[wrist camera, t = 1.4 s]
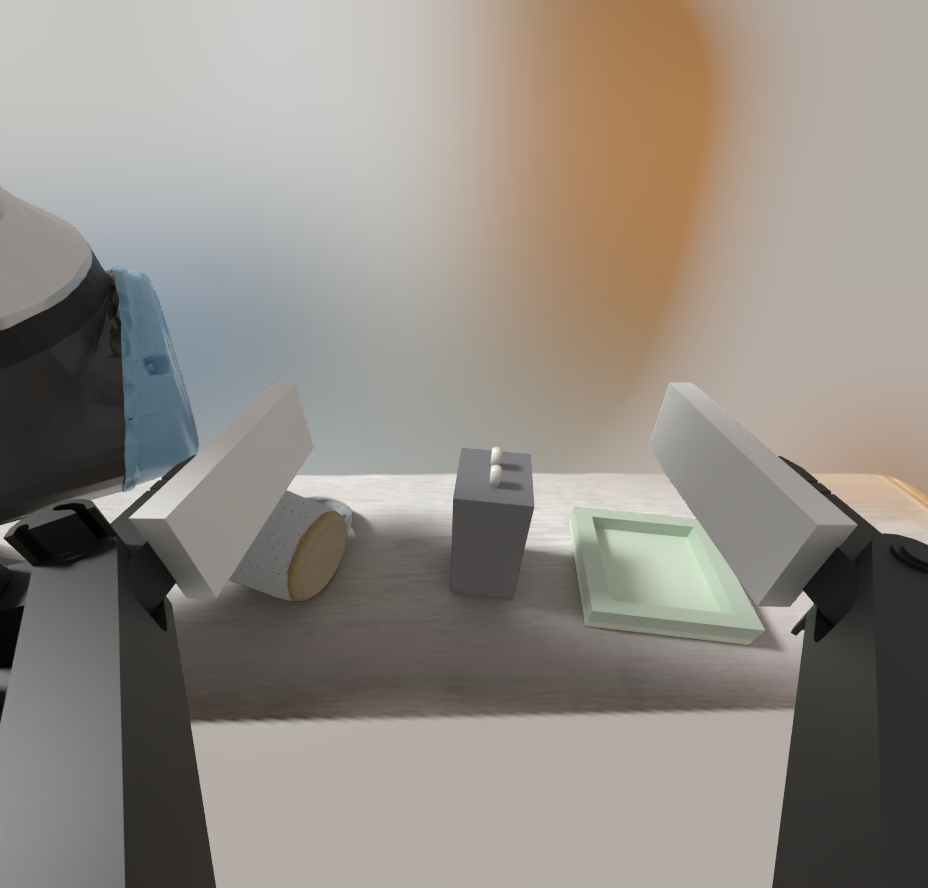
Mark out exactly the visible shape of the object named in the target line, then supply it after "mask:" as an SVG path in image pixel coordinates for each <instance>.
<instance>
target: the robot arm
mask: <svg viewBox="0 0 928 888" xmlns="http://www.w3.org/2000/svg"><path fill="white" fill-rule="evenodd" d="M198 446H199V441H198V435H197V430H196V425H195V421H194V417H193V412H192V409H191V405H190V401H189V397H188V394H187V390H186V386H185V383H184V379H183V376H182V372H181V369H180V365H179V362H178V359H177V355H176V352H175V349H174V346H173V342H172V339H171V336H170V333H169V329H168V326H167V323H166V320H165V317H164V314H163V311H162V308H161V305H160V302H159V300H158V297H157V295H156V292H155V290H154V289H153V287H152V284H151V281H150V279H149V278H148V277H147V276H146V275H145V274H143V273H141V272H138V271H131V270H126V269H124V268H119V267H112V269H111V270H109V271H105V270H104V269H103V268H102V266H101V265H100V263H99V261H98V260H97V258H96V256H95V255H94V253H93V251H92V250H91V248H90V246H89V244H88V243H87V242H86V240H85V239H84V237H82V235H81V234H80V232H79V231H78V230H77V229H76V227H74V226H73V225H72V224H70V223H69V222H67V221H66V220H64V219H62V218H60V217H59V216H57V215H55V214H52V213H51V212H48V211H46V210H44V209H42V208H39V207H37V206H35V205H33V204H30V203H28V202H26V201H24V200H22V199H19V198H17V197H15V196H13V195H12V194H10V193H9V192H7V191H6V190H4V189H3V188H2V187H1V186H0V525H2V524H6V523H9V522H13V521H17V520H20V519H21V520H20V521H19V522H18V523H16V524H15V525H14V526H13V527H11V528H10V529H9V531H8V532H7V534H6V535H5V536H4V539H5V540H6V541H7V542H8V543H9V544H10V545H11V546H12V547H13V548H14V549H13V548H10V547H7V546H4V545H1V544H0V888H216V885H215V878H214V871H213V865H212V859H211V853H210V846H209V839H208V833H207V826H206V820H205V814H204V807H203V801H202V794H201V789H200V782H199V775H198V769H197V762H196V756H195V750H194V744H193V737H192V731H191V724H190V718H189V711H188V705H187V699H186V692H185V686H184V679H183V673H182V667H181V660H180V654H179V647H178V641H177V635H176V628H175V622H174V616H173V609H172V604H171V603H170V601H169V599H168V598H167V597H166V595H167V594H168V592H169V591H170V590H171V588H172V587H173V586H174V585H175V583H176V584H177V585H178V587H179V588H180V589H181V591H182V592H183V593H184V595H185V596H186V598H217V597H218V596H219V594H220V592H221V591H222V589H223V588H224V586H225V585H226V583H227V582H228V580H229V578H230V577H231V575H232V574H233V572H234V571H235V569H236V568H237V566H238V564H239V563H240V561H241V560H242V558H243V557H244V555H245V553H246V552H247V550H248V549H249V547H250V546H251V544H252V543H253V541H254V539H255V538H256V536H257V535H258V533H259V532H260V530H261V529H262V527H263V525H264V524H265V522H266V521H267V519H268V518H269V516H270V514H271V513H272V511H273V510H274V508H275V507H276V505H277V504H278V502H279V500H280V499H281V497H282V496H283V494H284V493H285V491H286V490H287V488H288V486H289V485H290V483H291V482H292V480H293V479H294V477H295V475H296V474H297V472H298V471H299V469H300V468H301V466H302V464H303V463H304V461H305V460H306V458H307V457H308V455H309V454H310V452H311V451H312V449H313V447H314V446H313V442H312V439H311V435H310V432H309V428H308V425H307V422H306V418H305V415H304V411H303V408H302V404H301V401H300V397H299V394H298V391H297V387H296V384H295V383H273V384H272V385H271V386H270V387H269V388H268V389H267V390H266V391H265V392H264V393H263V394H262V395H261V396H259V398H258V399H256V400H255V401H254V402H253V403H252V404H251V405H250V406H249V407H248V408H247V409H246V410H245V411H243V412H242V413H241V414H240V415H239V416H238V417H237V418H236V419H235V420H234V421H233V422H232V423H231V424H229V425H228V426H227V427H226V428H225V429H224V430H223V431H222V432H221V433H220V434H219V435H218V436H217V437H216V438H214V439H213V440H212V441H211V442H210V443H209V444H208V445H207V446H206V447H205V448H204V449H203V450H201V451H200V452H199V453H198V454H197V455H196V453H197V451H198ZM648 449H649V450H650V452H651V453H652V455H653V456H654V457H655V459H656V460H657V462H658V463H659V464H660V466H661V468H662V469H663V471H664V472H665V473H666V475H667V476H668V478H669V479H670V481H671V482H672V484H673V485H674V487H675V488H676V489H677V491H678V492H679V494H680V495H681V497H682V498H683V500H684V501H685V502H686V504H687V505H688V507H689V508H690V510H691V511H692V513H693V514H694V516H695V517H696V518H697V520H698V521H699V523H700V524H701V526H702V527H703V529H704V530H705V532H706V533H707V534H708V536H709V537H710V539H711V540H712V542H713V543H714V545H715V546H716V547H717V549H718V550H719V552H720V553H721V555H722V556H723V558H724V559H725V561H726V562H727V563H728V565H729V566H730V568H731V569H732V571H733V572H734V574H735V575H736V576H737V578H738V579H739V581H740V582H741V584H742V585H743V587H744V588H745V590H746V591H747V592H748V594H749V595H750V597H751V598H752V600H753V601H754V603H755V604H756V606H776V607H790V606H791V605H792V603H793V602H794V601H795V600H796V599H797V597H798V596H799V595H800V594H801V593H802V591H804V592H805V593H806V594H807V595H808V597H809V598H810V599H811V600H812V601H813V603H814V605H813V606H812V607H811V608H810V609H809V611H808V612H807V613H806V614H805V615H804V616H803V617H802V618H801V620H800V621H799V622H798V623H797V624H796V625H795V626H794V628H793V629H792V631H791V633H792V634H794V635H796V636H797V634H798V633H799V632H800V631H801V630H805V632H804V640H803V648H802V656H801V664H800V672H799V680H798V688H797V696H796V704H795V712H794V719H793V728H792V736H791V744H790V751H789V759H788V768H787V776H786V783H785V791H784V799H783V807H782V815H781V823H780V831H779V839H778V846H777V854H776V862H775V870H774V878H773V887H772V888H928V545H927V544H924V543H922V542H920V541H917V540H915V539H912V538H908V537H904V536H901V535H896V534H882V533H880V532H879V531H878V530H877V529H875V528H874V527H873V526H872V525H871V524H869V523H868V522H867V521H866V520H865V519H863V518H862V517H861V516H860V515H859V514H857V513H856V512H855V511H854V510H853V509H851V508H850V507H849V506H848V505H847V504H845V503H844V502H843V501H842V500H840V499H839V498H838V497H837V496H836V495H834V494H831V491H830V490H828V489H827V488H826V487H825V486H824V485H822V484H821V483H818V480H816V479H815V478H814V477H813V476H812V475H810V474H809V473H808V472H806V471H805V470H804V469H803V468H802V467H800V466H798V465H796V464H794V463H792V462H790V461H789V460H787V459H785V458H783V457H781V456H777V455H776V454H774V453H773V452H772V451H771V450H770V449H768V448H767V447H766V446H765V445H764V444H763V443H762V442H761V441H759V440H758V439H757V438H756V437H755V436H754V435H752V434H751V433H750V432H749V431H748V430H746V429H745V428H744V427H743V426H742V425H740V424H739V423H738V422H737V421H736V420H735V419H734V418H732V417H731V416H730V415H729V414H728V413H727V412H726V411H724V410H723V409H722V408H721V407H720V406H718V405H717V404H716V403H715V402H714V401H713V400H712V399H710V398H709V397H708V396H707V395H706V394H704V393H703V392H702V391H701V390H700V389H699V388H698V387H696V386H695V385H694V384H693V383H669V386H668V389H667V392H666V395H665V398H664V401H663V404H662V407H661V410H660V413H659V416H658V419H657V423H656V425H655V428H654V431H653V435H652V438H651V441H650V444H649V447H648ZM162 476H163V477H162ZM159 477H162V480H159V481H157V482H156V483H155V484H154V485H153V486H152V487H151V488H150V491H146V492H145V493H144V494H143V495H142V496H141V497H140V498H139V499H137V500H136V501H135V502H134V503H133V504H132V505H131V506H130V507H129V508H127V509H126V510H125V511H124V512H123V513H122V514H121V515H120V516H119V517H117V518H116V519H115V520H114V521H113V522H112V523H111V524H110V523H109V522H108V521H107V520H106V518H105V517H104V516H103V514H102V513H101V512H100V511H99V509H98V508H97V507H96V505H95V504H94V503H93V502H92V501H90V500H92V499H96V498H100V497H103V496H107V495H111V494H114V493H118V492H121V491H123V492H126V491H130V490H132V489H133V488H135V486H136V485H139V484H141V483H144V482H147V481H150V480H153V479H156V478H159Z"/></svg>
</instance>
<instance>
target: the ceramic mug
mask: <svg viewBox="0 0 928 888" xmlns="http://www.w3.org/2000/svg"><path fill="white" fill-rule="evenodd" d="M351 523H352V511H351V509H350V507H349V506H347V505H346V504H344V503H342V502H340V501H338V500H335V499H331V498H326V497H305V498H304V497H302V496H299V495H297V494H294V493H292V492H289V491H287V490H286V491H285V493H284V494H283V496H282V497H281V499H280V500H279V502H278V504H277V505H276V507H275V508H274V510H273V511H272V513H271V514H270V516H269V518H268V519H267V521H266V522H265V524H264V525H263V527H262V529H261V530H260V532H259V533H258V535H257V536H256V538H255V539H254V541H253V543H252V544H251V546H250V547H249V549H248V550H247V552H246V553H245V555H244V557H243V558H242V560H241V561H240V563H239V564H238V566H237V568H236V569H235V571H234V572H233V574H232V575H231V577H230V578H229V581H232V582H235V583H238V584H240V585H243V586H246V587H249V588H252V589H255V590H258V591H261V592H263V593H266V594H268V595H271V596H273V597H277V598H280V599H283V600H291V601H304V600H308V599H310V598H312V597H313V596H315V595H316V594H318V593H319V592H320V591H321V590H322V589H323V588H324V587H325V586H326V585H327V584H328V583H329V581H330V580H331V578H332V577H333V575H334V574H335V572H336V570H337V568H338V566H339V564H340V562H341V559H342V557H343V554H344V551H345V547H346V542H347V533H348V531H349V530H350V528H351Z"/></svg>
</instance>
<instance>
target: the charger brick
mask: <svg viewBox="0 0 928 888" xmlns="http://www.w3.org/2000/svg"><path fill="white" fill-rule="evenodd" d="M533 510H534V496H533V481H532V466H531V455H530V454H521V453H510V452H502V449H501V448H499V447H494V448H492V451H487V450H478V449H466V448H462V449H461V455H460V461H459V467H458V473H457V479H456V485H455V491H454V497H453V524H452V555H451V587H450V592H453V593H462V594H470V595H479V596H488V597H497V598H505V599H513V594H514V590H515V586H516V582H517V577H518V573H519V569H520V565H521V561H522V556H523V552H524V548H525V544H526V539H527V535H528V531H529V527H530V522H531V518H532V514H533Z"/></svg>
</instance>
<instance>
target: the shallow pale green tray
mask: <svg viewBox="0 0 928 888" xmlns="http://www.w3.org/2000/svg"><path fill="white" fill-rule="evenodd" d="M569 528H570V535H571V541H572V547H573V554H574V560H575V566H576V573H577V579H578V585H579V591H580V598H581V604H582V610H583V617H584V623H585V626H589V627H598V628H606V629H615V630H623V631H632V632H641V633H649V634H658V635H666V636H675V637H683V638H692V639H701V640H709V641H718V642H726V643H735V644H743V645H749V644H750V643H751V642H753V641H754V640H755V639H756V638H757V637H759V636H760V635H761V634H762V633H763V632H764V631H765V629H764V627H763V625H762V623H761V622H760V620H759V618H758V616H757V614H756V612H755V610H754V608H753V607H752V605H751V603H750V601H749V599H748V597H747V595H746V593H745V592H744V590H743V588H742V586H741V584H740V582H739V580H738V578H737V577H736V575H735V574H734V572H733V571H732V569H731V568H730V566H729V565H728V563H727V562H726V561H725V559H724V558H723V556H722V555H721V553H720V552H719V550H718V549H717V547H716V546H715V545H714V543H713V542H712V540H711V539H710V537H709V536H708V534H707V533H706V532H705V530H704V529H703V527H702V526H701V524H700V523H699V521H698V520H697V519H692V518H682V517H672V516H662V515H652V514H642V513H632V512H622V511H612V510H602V509H592V508H582V507H574V508H573V511H572V514H571V517H570V520H569Z"/></svg>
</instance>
